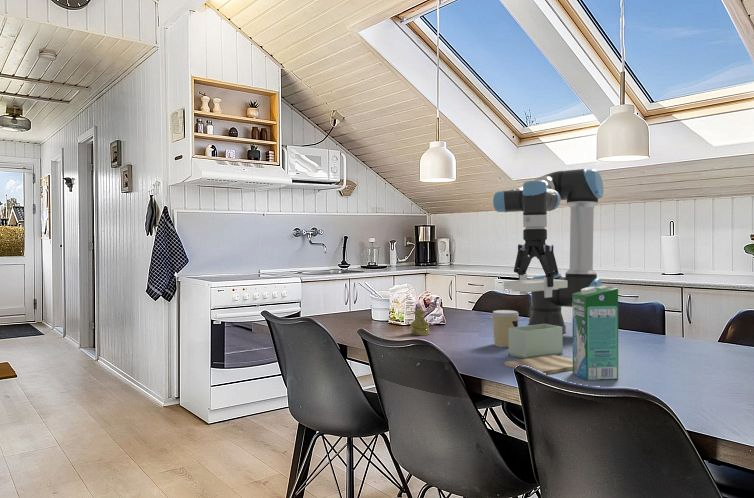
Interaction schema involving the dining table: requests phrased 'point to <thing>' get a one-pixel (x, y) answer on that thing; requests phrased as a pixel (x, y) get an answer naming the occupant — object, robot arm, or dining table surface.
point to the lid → (533, 285)
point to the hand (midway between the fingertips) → (535, 295)
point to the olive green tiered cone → (419, 324)
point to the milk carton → (595, 332)
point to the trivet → (545, 363)
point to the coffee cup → (503, 326)
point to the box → (535, 341)
